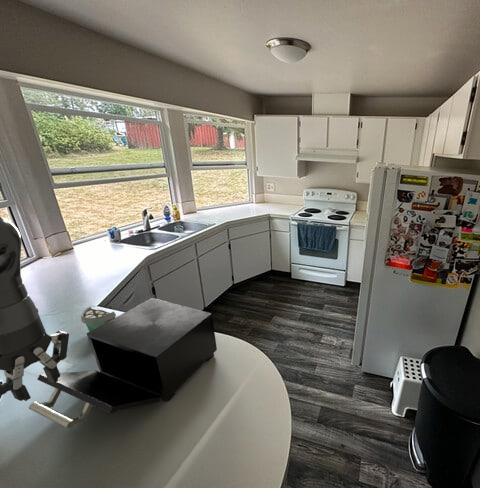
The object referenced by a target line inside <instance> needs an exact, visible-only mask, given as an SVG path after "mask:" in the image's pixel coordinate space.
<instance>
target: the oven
mask: <svg viewBox="0 0 480 488" xmlns="http://www.w3.org/2000/svg"><path fill="white" fill-rule="evenodd" d="M214 326H215V325H214V318H213V313H212V312H208V311H204V310H200V309H197V308H193V307H188V306H185V305H182V304H177V303H174V302H169V301H165V300H161V299H159V298H154V297H151V298H148V299H146V300H145V301H144V302H143V301H142V302H141V303H139V304H138V305H136V306H134V307H132V308H131V309H129V310H127V311H125V312H123V313H121V314H119V315H117V316H116V317H115V318H114V319H112V320H110V321H108V322H106V323H105V324H103V325H101V326H99V327H97V328H95V329H94V330H92V331H90V332H89V331H88V332H86V336H87V339H88V341H89V345H90V348H91V349H92V353H93V355H94V358H95V361H96V364H97V367H98V370H99V372H101V373H103V374H106V375H108V376H111V377H113V378H116V379H118V380H121V381H123V382H126V383H128V384H131V385H133V386H136V387H138V388H141V389H143V390H146V391H148V392H151V393H153V394H156V395H158V396H161V400H163V401H166V402H169V401H170V400H172V398H173V397H174V396H175V395H176V391H177V390H178V389H179V388H180V387H181V386H182V385H183V384H184V383H185V382H186V381H187V380H188V379H189V378H190V377H191V376H192V375H193V374H194V373H195V372H196V371H197V370H199V368H200V367H201V366H202V365H203V364H204V363H206V362H207V361H210V360H212V358H213V357H214V356H215V352H216V351H217V350H218V348H217V340H216V334H215V333H216V331H215V327H214Z"/></svg>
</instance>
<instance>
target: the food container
mask: <svg viewBox="0 0 480 488" xmlns="http://www.w3.org/2000/svg"><path fill="white" fill-rule="evenodd" d="M116 317H117V315H116V313H115V311H112V312H108V311H107V310H106V311H105V310H103V309H94V308H92V306H88V307H87V308H85V309H84V310H83V311H82V312H81V316H80V321H81V322H82V323H83V324H85V325H86V328H87V330H88V332H90V331H92V330H94V329H95V328H97V327H99V326H101V325H103V324H105V323H106V322H108V321H110V320H112V319H114V318H116Z"/></svg>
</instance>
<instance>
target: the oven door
mask: <svg viewBox="0 0 480 488" xmlns="http://www.w3.org/2000/svg"><path fill="white" fill-rule="evenodd" d="M59 373H60V377H59V378H58V381H57V382H56V383H52V382H50V381H49V380H48V378H47V376H46V374H45V373H41V374H39V375H38V377H37V379H36V380H37V381H39V382H41V383H44V384H46V385H47V386H50V387H52V388H54V390H53V392H52V394H51V395H50V397H49V399H48V401H45V402H39V401H37V400H36V401H33V402H31V403H30V404H29V405H28V409H29V410H30V411H33V412H34V413H36V414H38V415H40V416H42V417H44V418H46V419H48V420H49V421H52V422H53V423H56V424H57V425H59V426H60V427H62V428H65V429H67V430H68V429H69V430H70V429H71V428H73V427H74V426H75V425H80V424H84V423H85V422H86V420H87V418H88V416H89V415H90V412H91V409H92V408H93V406H94V407H96V408H97V409H100V410H102V411H105V412H106V413H109V414H112V413H116V412H121V411H125V410H130V409H134V408H138V407H142V406H147V405H151V404H156V403H160V402H161V400H162V399H161V396H158V395H156V394H153V393H151V392H148V391H146V390H143V389H141V388H138V387H136V386H133V385H131V384H128V383H126V382H123V381H121V380H118V379H116V378H113V377H111V376H108V375H106V374H103V373H101V372H100V371H98V370H85V371H84V370H83V371H72V372H71V371H69V372H59ZM62 392H63V393H65V394H68V395H70V396H72V397H74V398H76V399H78V400H81V401H83V402H85V404H84V407H83V409H82V411H81V413H80V415H79V416H78V417H74V418H72V417H70V416H68V415H66V414H63V413H62V412H60V411H58V410H55V409H53V407H54V406H55V404H56V403H57V400H58V399H59V396H60V395H61V393H62Z"/></svg>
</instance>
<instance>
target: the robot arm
mask: <svg viewBox="0 0 480 488" xmlns="http://www.w3.org/2000/svg"><path fill="white" fill-rule="evenodd" d="M21 236H22V235H21V233H20V231H19V229H18V227H17V226H16V225H15V224H14V223H12V222H11V221H10V220H8V219H7V218H4V217H2V216H0V371H3V372H4V373H3V374H4V376H5V382H3V383H0V396H3V395H5V394H7V393H8V392H11V394H12V396H13V398H14V399H15V400H17V401H20V402H23V401H24V402H27V401H28V400H30V399H32V397H31V395H30V393H29V391H28V389H27V386H26V385H25V384H24V383H23V377H25V369H26V368H28V367H29V366H31V365H33V364H35V363H37V362H39V363H40V364H41V365H42V366H43V367H42V370H43V371H44V374H46V376H47V378H48V380H49V381H50V382H52V383H56V382H57V381H58V378H59V377H60V373H61V372H60V371H59V370H60V369H59V368H58V364H59V362H62V361H64V360H66V358H67V357H68V356H67V354H68V347H69V338H70V333H68V332H65V331H62V330H58V331H56V332H55V333H53V334H48V333H47V331H46V329H45V326H44V323H43V320H42V319H41V316H40V314H39V309H38V307H37V306H36V304H35V302H34V300H33V299H32V298H31V297H30V295H29V292H28V289H27V287H26V285H25V282H24V281H23V278H22V270H21V269H22V265H21V263H22V261H21V257H22V237H21ZM51 343H53V348H52V354H51V356H50V355H49V354H48V353H47V351H48V349H49V347H50V344H51Z"/></svg>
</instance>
